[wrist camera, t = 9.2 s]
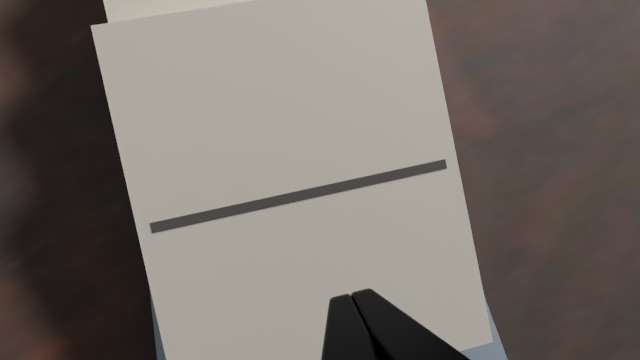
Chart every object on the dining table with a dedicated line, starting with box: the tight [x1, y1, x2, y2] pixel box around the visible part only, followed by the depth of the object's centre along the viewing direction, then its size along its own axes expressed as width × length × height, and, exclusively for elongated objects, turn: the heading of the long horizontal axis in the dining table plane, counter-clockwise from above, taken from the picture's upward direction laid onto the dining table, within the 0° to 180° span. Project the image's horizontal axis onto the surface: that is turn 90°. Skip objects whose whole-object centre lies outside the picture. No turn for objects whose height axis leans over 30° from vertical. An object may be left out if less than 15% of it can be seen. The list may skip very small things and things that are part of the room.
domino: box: [91, 0, 493, 360], centre depth 14 cm, size 2×10×12 cm
